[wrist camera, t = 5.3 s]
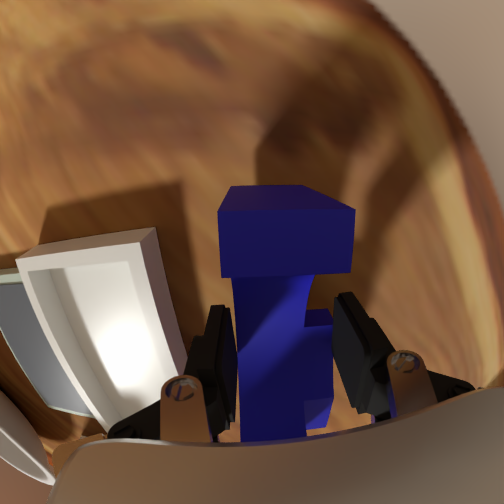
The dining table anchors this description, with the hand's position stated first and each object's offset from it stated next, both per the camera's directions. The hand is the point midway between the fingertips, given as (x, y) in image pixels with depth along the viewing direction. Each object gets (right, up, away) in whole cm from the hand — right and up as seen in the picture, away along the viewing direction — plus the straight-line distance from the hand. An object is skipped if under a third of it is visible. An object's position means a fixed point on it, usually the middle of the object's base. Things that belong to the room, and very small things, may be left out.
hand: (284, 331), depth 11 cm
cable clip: (0, +1, +2) cm, 2 cm away
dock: (-10, -4, +5) cm, 12 cm away
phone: (-18, -4, +5) cm, 19 cm away
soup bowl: (-35, -16, +9) cm, 40 cm away
